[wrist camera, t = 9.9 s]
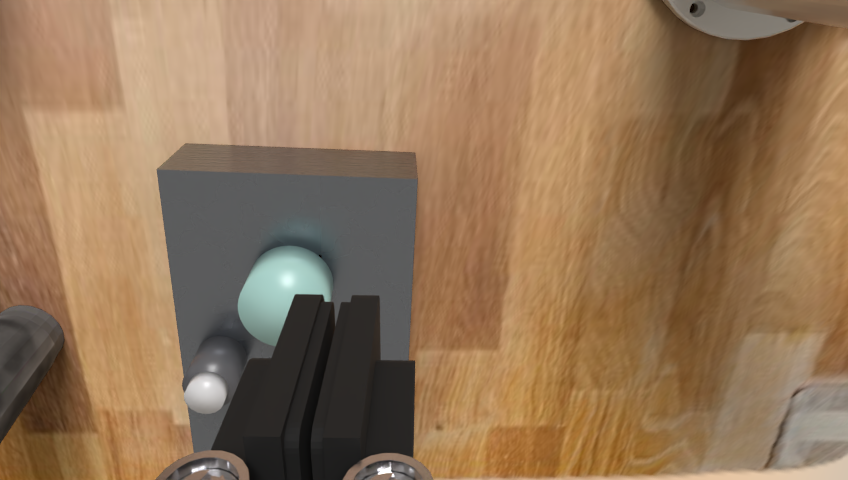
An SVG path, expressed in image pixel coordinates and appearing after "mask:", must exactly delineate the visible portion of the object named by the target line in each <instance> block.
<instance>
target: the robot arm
mask: <svg viewBox="0 0 848 480" xmlns="http://www.w3.org/2000/svg"><path fill="white" fill-rule="evenodd" d="M663 2H664V3H665V4H666V5H667V6H668V8H669V9H670V10H671V11H672V12H673V13H674V14H675V15H676V16H677V17H678V18H679V19H681V20H682V21H684V22H685V23H686V24H688V25H689V26H691V27H692V28H694V29H696V30H699V31H702V32H704V33H707V34H709V35H712V36H717V37H721V38H725V39H735V40H752V39H759V38H766V37H770V36H773V35H776V34H779V33H782V32H785V31H788V30H791V29H792V28H794V27H796V26H798V25H800V24H802V23H804V22H811V23H817V24H822V25H828V26H834V27H840V28H846V29H848V0H663ZM692 4H694V5H695V8H694V10H693V11H692V12H690V7H691V5H692ZM414 395H415V361H407V360H381V345H380V297H379V295H352V297H351V302H341V305H340V309H339V313H338V318H337V322H336V326H335V309H334V303H333V302H325V299H324V296H323V295H322V294H295V296H294V298H293V300H292V303H291V306H290V309H289V311H288V314H287V317H286V320H285V322H284V325H283V328H282V330H281V333H280V336H279V339H278V341H277V344H276V347H275V350H274V352H273V355H272V358H251V359H250V360H249V361H248V363H247V365H246V367H245V369H244V372H243V374H242V377H241V379H240V381H239V384H238V386H237V388H236V391H235V393H234V396H233V398H232V400H231V403H230V405H229V408H228V410H227V412H226V415H225V417H224V419H223V422H222V424H221V427H220V429H219V431H218V434H217V436H216V439H215V441H214V443H213V446H212V448H211V450H207V451H202V452H197V453H193V454H190V455H188V456H186V457H183V458H181V459H178V460H177V461H176V462H174V463H173V464H171V465H170V466H168V467H167V468H166V469H165V470H164V471H163V472H162V473H161V474H160V475H159V476H158V477H157V478H156V480H433V478H432V476H431V473H430V472H429V470H428V469H427V468H426V467H425V466H424V465H423V464H422V463H421V462H419V461H417V460H415V459H414V458H413V445H414Z"/></svg>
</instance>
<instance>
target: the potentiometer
mask: <svg viewBox="0 0 848 480" xmlns="http://www.w3.org/2000/svg"><path fill="white" fill-rule="evenodd" d="M246 363H247V354H246V351H245V349H244V348H243V346H242V345H241V344H240V343H239V342H237V341H236V340H234V339H232V338H229V337H225V336H214V337H211V338H208V339H206V340H205V341H204V342H203V343H202V344H201V345H200V347H199V349H198V351H197V353H196V354H195V356H194V358H193V360H192V362H191V364H190V366H189V368H188V370H187V372H186V374H185V376H184V378H183V383H182V387H183V390H184V400H185V402H186V404H187V405H188V407H189V408H191V409H192V410H193V411H195V412H198V413H202V414H211V413H215V412H217V411H218V410H220V409H221V408H222V406H224V405H226V404H228V403H229V402H230V401H231V400H232V398H233V396H234V393H235V391H236V388H237V386H238V384H239V381H240V379H241V376H242V374H243V371H244V368H245V365H246Z"/></svg>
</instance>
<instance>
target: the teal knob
mask: <svg viewBox="0 0 848 480" xmlns="http://www.w3.org/2000/svg"><path fill="white" fill-rule="evenodd" d="M332 293H333V277H332V274H331V271H330V269H329V267H328V265H327V264H326V263H325V262H324V260H323V259H322V258H321V257H319V255H317V254H315V253H314V252H312V251H310V250H308V249H305V248H302V247H297V246H280V247H276V248H273V249H271V250H269V251H267V252H265V253H264V254H262V255H261V256H260V257H259V258H258V259H257V260H256V262H255V263H254V265H253V267H252V269H251V271H250V274H249V276H248V278H247V280H246V282H245V284H244V287H243V289H242V291H241V293H240V296H239V299H238V313H239V317H240V319H241V322H242V324H243V325H244V327H245V328H246V329H247V330H248V332H249V333H250V334H251V335H253V336H254V337H255V338H257V339H258V340H260V341H262V342H264V343H266V344H269V345H272V346H276V344H277V341H278V339H279V336H280V333H281V330H282V328H283V325H284V322H285V320H286V317H287V314H288V311H289V309H290V306H291V303H292V300H293V298H294V296H295V294H322V295H323V296H324V299H325V302H331V298H332Z"/></svg>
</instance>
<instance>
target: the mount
mask: <svg viewBox="0 0 848 480" xmlns="http://www.w3.org/2000/svg"><path fill="white" fill-rule="evenodd" d="M157 175H158V183H159V191H160V198H161V206H162V214H163V221H164V229H165V236H166V244H167V252H168V259H169V267H170V274H171V282H172V290H173V297H174V305H175V312H176V320H177V328H178V335H179V343H180V351H181V358H182V366H183V373H184V376H185V374H186V372H187V370H188V368H189V366H190V364H191V362H192V360H193V358H194V356H195V354H196V353H197V351H198V349H199V347H200V345H201V344H202V343H203V342H204V341H205V340H206V339H208V338H211V337H214V336H225V337H229V338H232V339H234V340H236V341H237V342H239V343H240V344H241V345H242V346H243V348H244V349H245V351H246V354H247V363H248V361H249V360H250V359H251V358H272V355H273V352H274V350H275V347H276V346H272V345H269V344H266V343H264V342H262V341H260V340H258V339H257V338H255V337H254V336H253V335H251V334H250V333H249V332H248V330H247V329H246V328H245V327H244V325H243V324H242V322H241V319H240V317H239V313H238V299H239V296H240V293H241V291H242V289H243V287H244V284H245V282H246V280H247V278H248V276H249V274H250V271H251V269H252V267H253V265H254V263H255V262H256V260H257V259H258V258H259V257H260V256H261V255H262V254H264V253H265V252H267V251H269V250H271V249H273V248H276V247H280V246H297V247H302V248H305V249H308V250H310V251H312V252H314V253H315V254H317V255H322V259H323V260H324V262H325V263H326V264H327V265H328V267H329V269H330V271H331V274H332V277H333V293H332V298H331V302H333V303H334V309H335V326H336V322H337V318H338V313H339V309H340V305H341V302H351V297H352V295H379V297H380V345H381V360H407V361H408V360H409V340H410V320H411V300H412V280H413V260H414V241H415V221H416V201H417V181H418V178H417V166H416V155H415V153H412V152H387V151H361V150H336V149H311V148H285V147H260V146H235V145H209V144H184V145H183V146H182V147H181V148H180V149H179V150H178V151H177V152H176V153H174V154H173V155H172V156H171V157H170V158H169V159H168V160H167V161H166V162H164V163H163V164H162V165H161V166H160V167H159V168H158V169H157ZM247 363H246V365H247ZM246 365H245V367H246ZM244 369H245V368H244ZM243 372H244V371H243ZM241 377H242V376H241ZM230 403H231V401H230V402H229V403H228V404H226V405H224V406H222V408H221V409H220V410H218V411H217V412H215V413H211V414H202V413H198V412H195V411H193V410H192V409H191V408H189V407H188V411H189V419H190V427H191V434H192V442H193V449H194V453H197V452H202V451H207V450H211V448H212V446H213V443H214V441H215V439H216V436H217V434H218V431H219V429H220V427H221V424H222V422H223V419H224V417H225V415H226V412H227V410H228V408H229V405H230Z"/></svg>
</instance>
